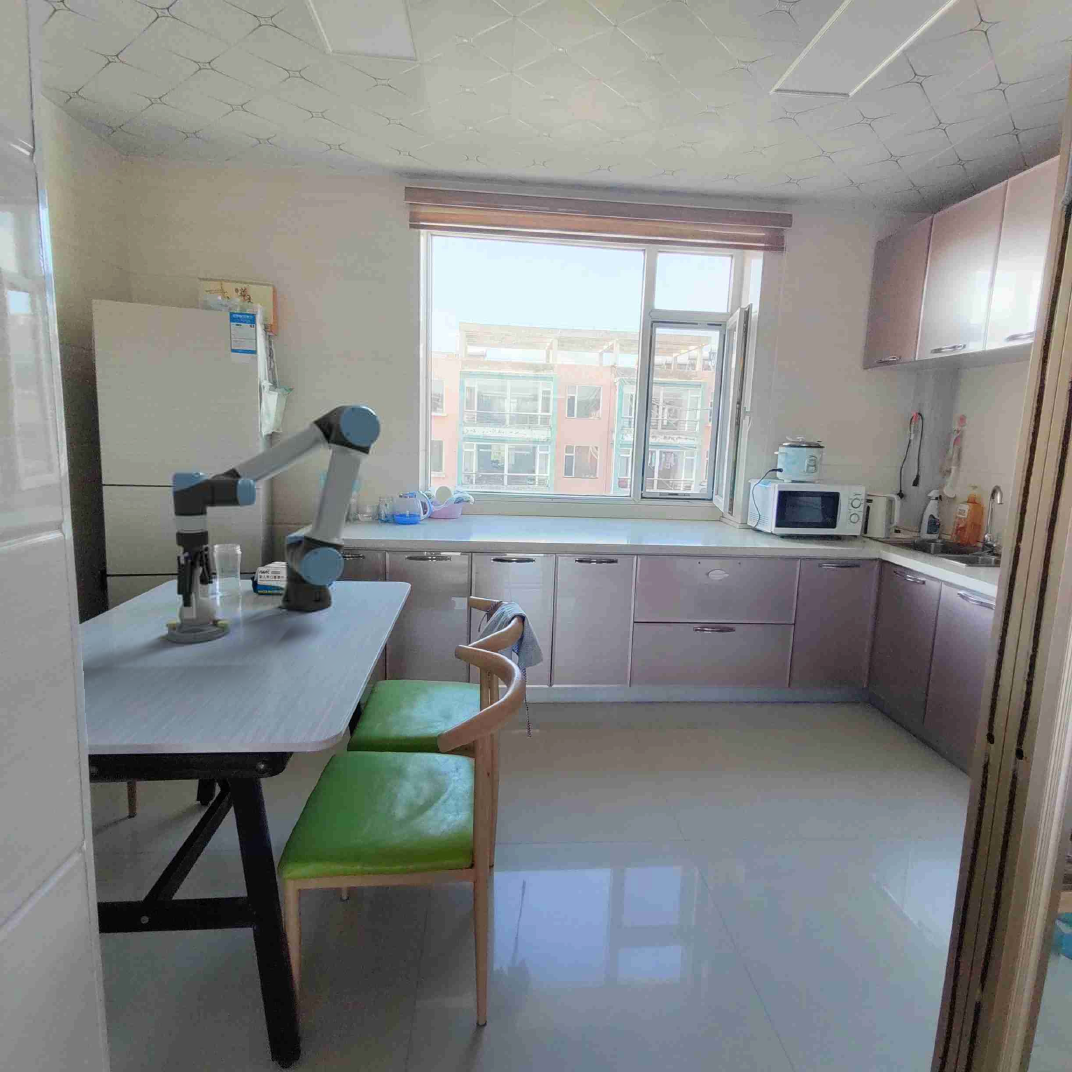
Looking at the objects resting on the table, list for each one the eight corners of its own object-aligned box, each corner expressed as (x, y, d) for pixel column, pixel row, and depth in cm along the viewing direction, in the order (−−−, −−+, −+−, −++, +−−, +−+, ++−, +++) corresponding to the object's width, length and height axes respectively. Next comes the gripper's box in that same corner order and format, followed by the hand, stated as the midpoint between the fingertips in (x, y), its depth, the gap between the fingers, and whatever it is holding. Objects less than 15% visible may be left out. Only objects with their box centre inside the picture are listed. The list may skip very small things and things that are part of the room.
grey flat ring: (238, 624, 175) (237, 613, 175) (218, 642, 161) (217, 630, 160) (181, 625, 173) (180, 614, 173) (155, 643, 159) (154, 631, 158)
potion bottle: (212, 618, 172) (208, 555, 169) (219, 626, 166) (215, 561, 162) (176, 623, 167) (171, 558, 164) (182, 632, 160) (177, 565, 157)
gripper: (194, 523, 172) (199, 601, 176) (156, 537, 151) (163, 625, 155) (222, 524, 173) (227, 601, 177) (188, 537, 152) (194, 625, 156)
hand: (197, 612), depth 166 cm, fingers closed on potion bottle, 9 cm apart
